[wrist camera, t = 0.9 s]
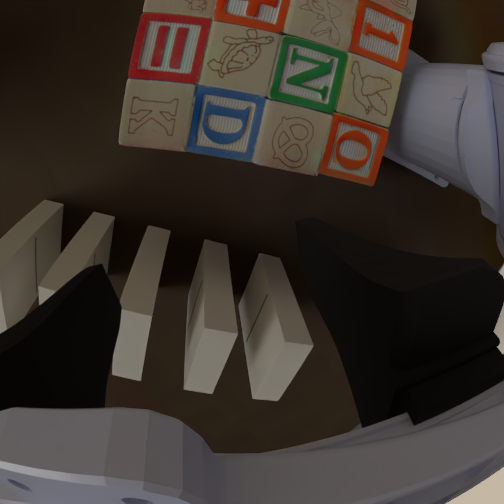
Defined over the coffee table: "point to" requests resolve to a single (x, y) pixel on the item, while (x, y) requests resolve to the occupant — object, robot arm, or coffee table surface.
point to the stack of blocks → (269, 81)
